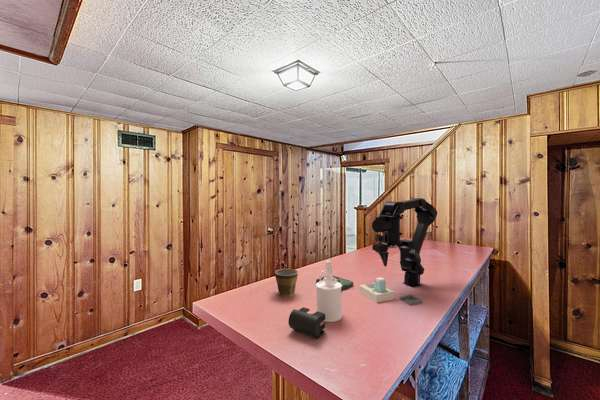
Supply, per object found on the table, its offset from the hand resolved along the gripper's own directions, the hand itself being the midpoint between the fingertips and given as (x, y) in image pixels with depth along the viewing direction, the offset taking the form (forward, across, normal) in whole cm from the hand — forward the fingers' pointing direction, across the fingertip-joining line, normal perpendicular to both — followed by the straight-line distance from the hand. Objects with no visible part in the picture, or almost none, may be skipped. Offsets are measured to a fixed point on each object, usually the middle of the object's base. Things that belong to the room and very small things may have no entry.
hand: (393, 264), depth 121 cm
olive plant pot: (+11, +46, -16) cm, 50 cm away
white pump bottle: (+11, +38, +10) cm, 40 cm away
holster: (+12, +2, +12) cm, 17 cm away
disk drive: (+12, +21, -17) cm, 29 cm away
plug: (+11, +11, +5) cm, 17 cm away
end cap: (+11, +50, +18) cm, 54 cm away
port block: (+11, +11, +2) cm, 16 cm away
